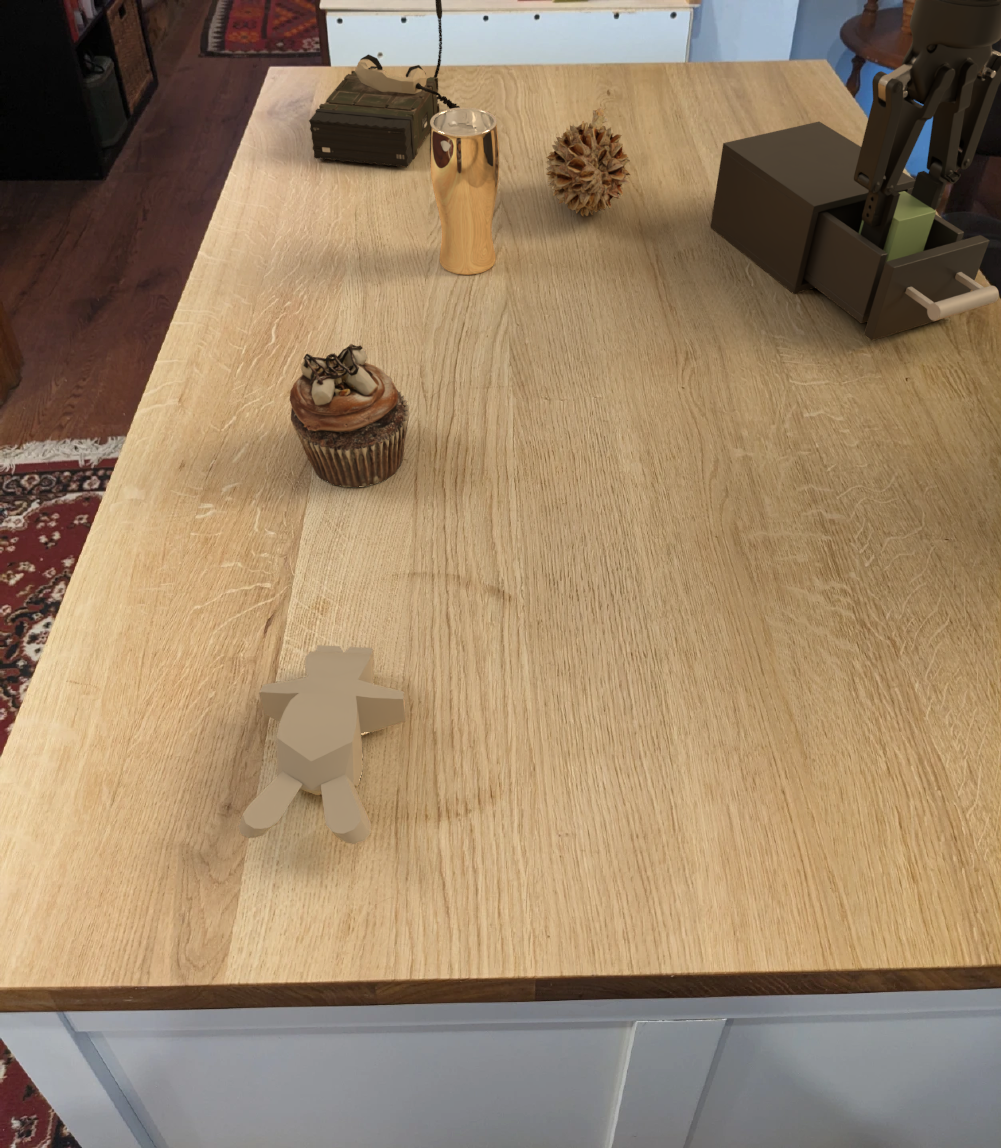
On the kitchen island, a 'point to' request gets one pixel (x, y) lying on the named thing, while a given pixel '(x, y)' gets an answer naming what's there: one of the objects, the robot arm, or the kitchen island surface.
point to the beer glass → (465, 186)
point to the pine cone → (588, 166)
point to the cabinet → (785, 194)
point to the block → (908, 227)
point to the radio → (378, 114)
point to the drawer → (895, 274)
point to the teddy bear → (324, 739)
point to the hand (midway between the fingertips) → (890, 246)
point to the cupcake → (349, 418)
